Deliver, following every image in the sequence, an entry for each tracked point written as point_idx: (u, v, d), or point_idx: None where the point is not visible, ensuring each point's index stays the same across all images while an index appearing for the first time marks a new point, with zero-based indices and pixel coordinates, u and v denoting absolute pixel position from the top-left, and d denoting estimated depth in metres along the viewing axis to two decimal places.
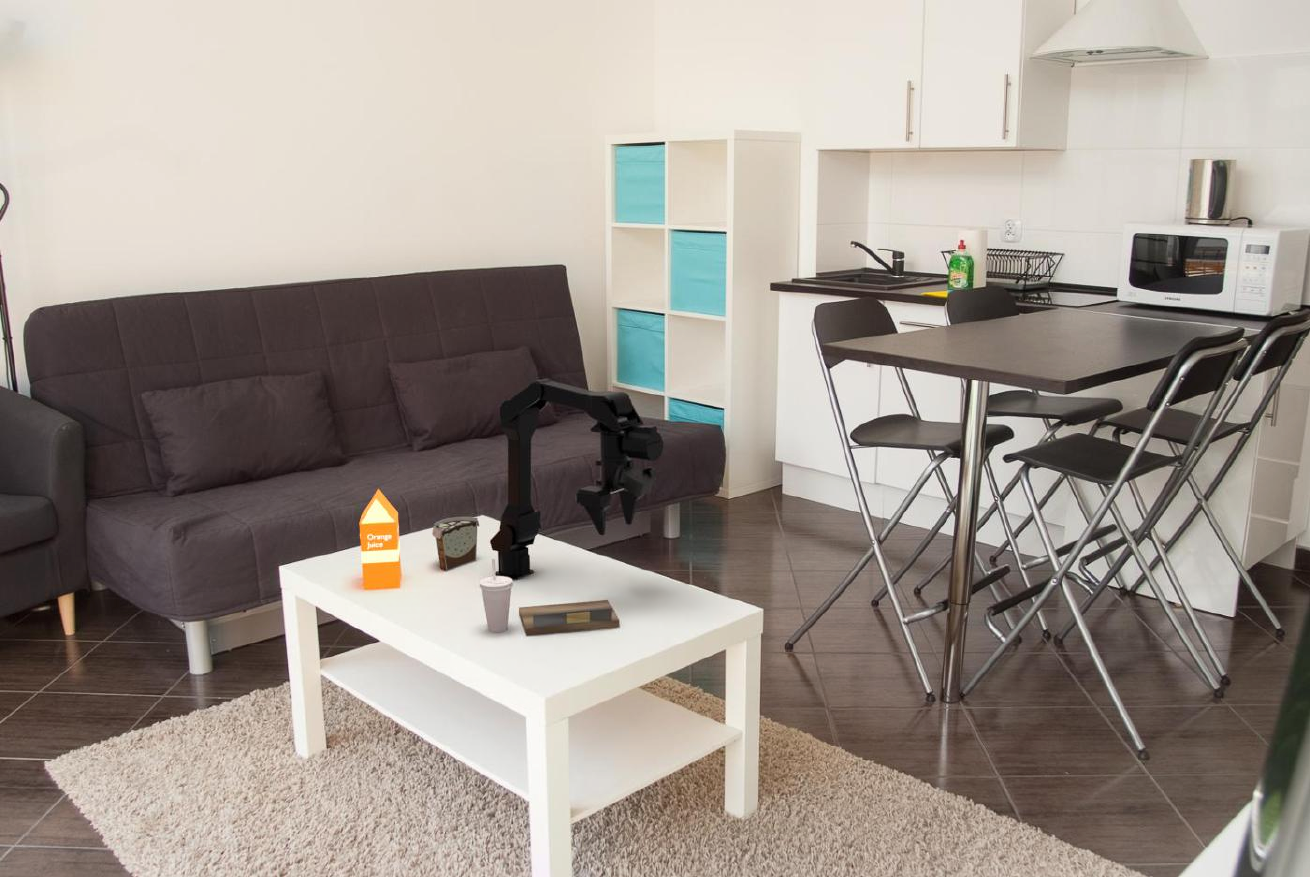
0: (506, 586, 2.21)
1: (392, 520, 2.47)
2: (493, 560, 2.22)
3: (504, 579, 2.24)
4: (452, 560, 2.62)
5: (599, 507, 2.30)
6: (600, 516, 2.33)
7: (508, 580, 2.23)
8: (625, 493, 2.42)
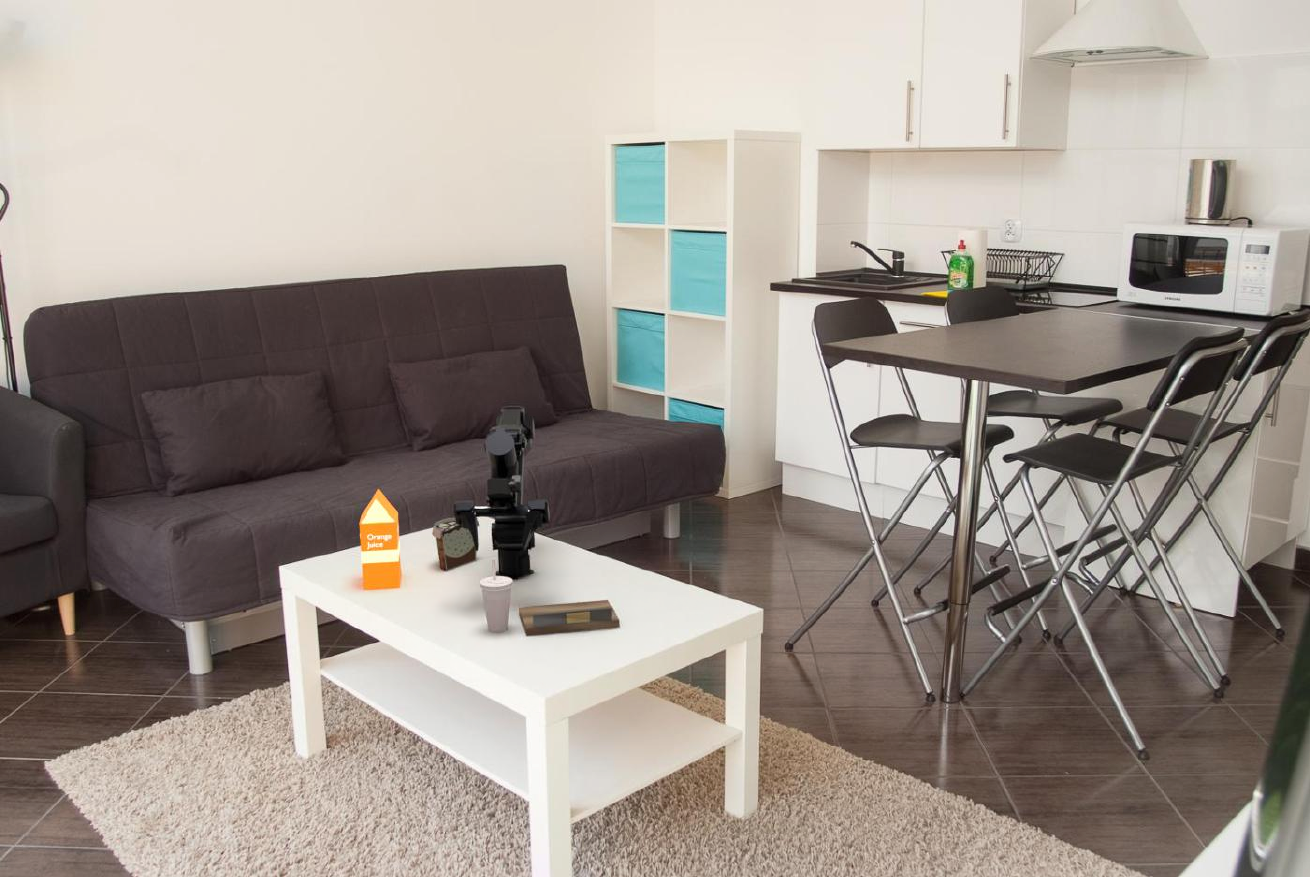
0: (506, 586, 2.21)
1: (392, 520, 2.47)
2: (493, 560, 2.22)
3: (504, 579, 2.24)
4: (452, 560, 2.62)
5: (460, 515, 2.32)
6: None
7: (508, 580, 2.23)
8: None
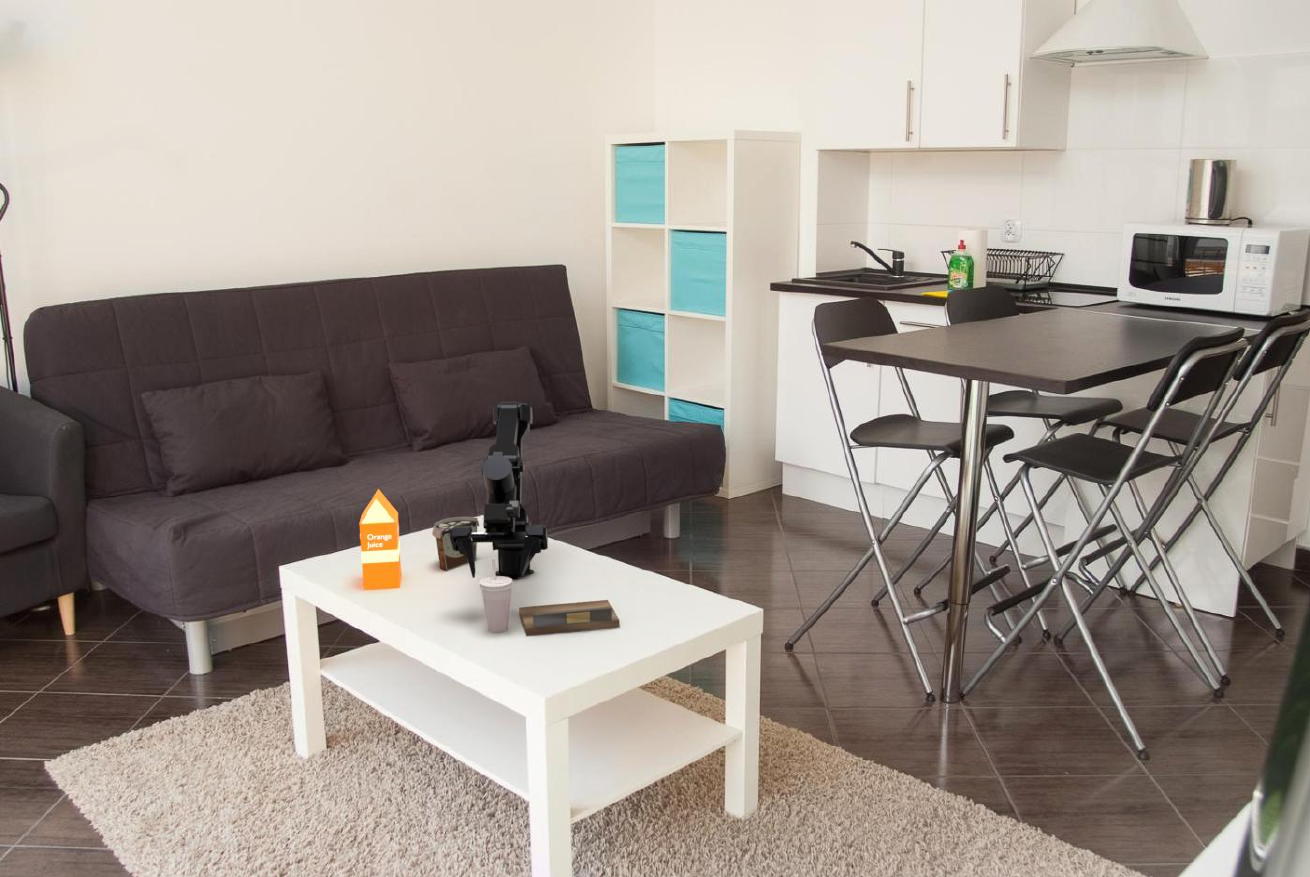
0: (506, 586, 2.21)
1: (392, 520, 2.47)
2: (493, 560, 2.22)
3: (504, 579, 2.24)
4: (452, 560, 2.62)
5: (456, 540, 2.27)
6: None
7: (508, 580, 2.23)
8: None
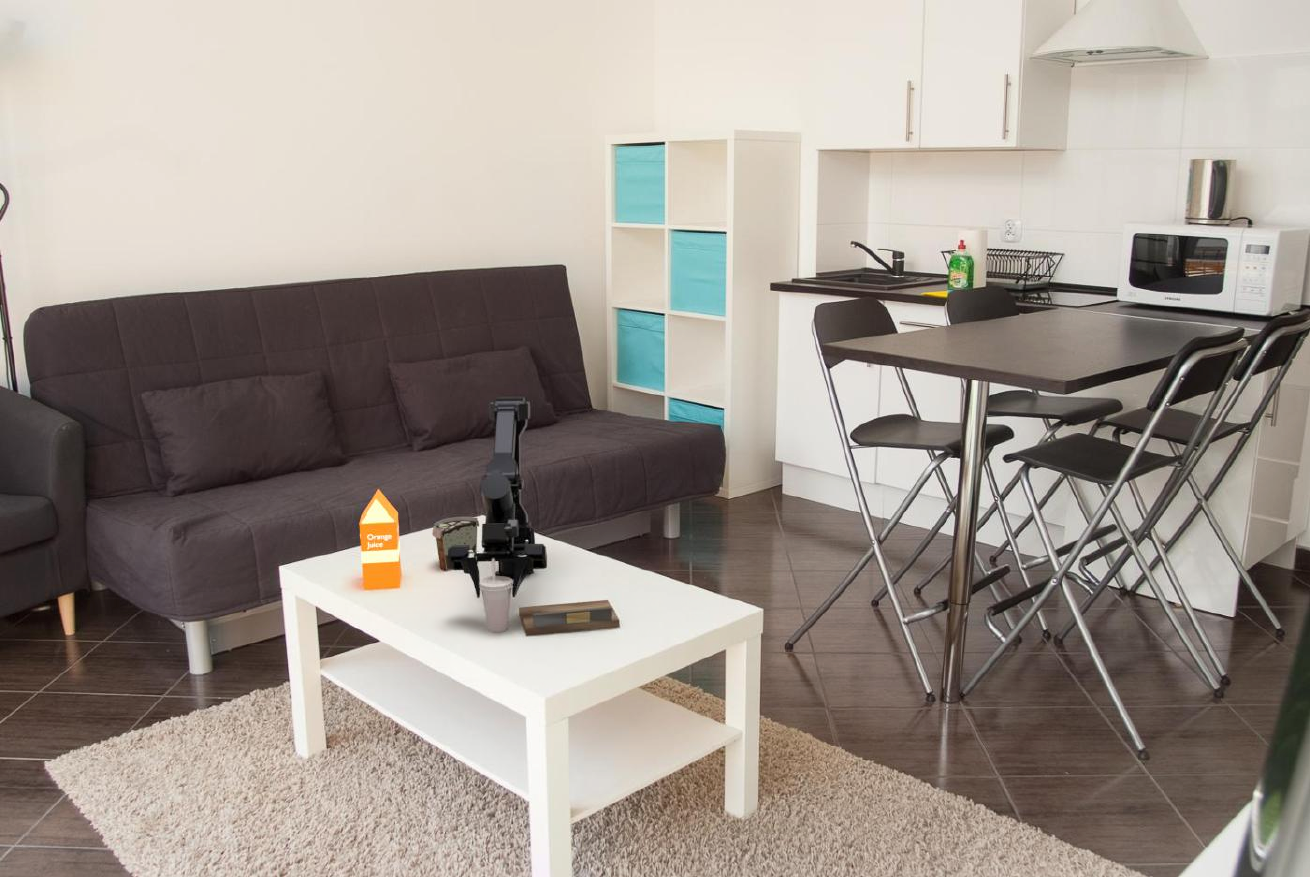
0: (506, 586, 2.21)
1: (392, 520, 2.47)
2: (493, 560, 2.22)
3: (504, 579, 2.24)
4: None
5: (461, 560, 2.24)
6: None
7: (508, 580, 2.23)
8: None
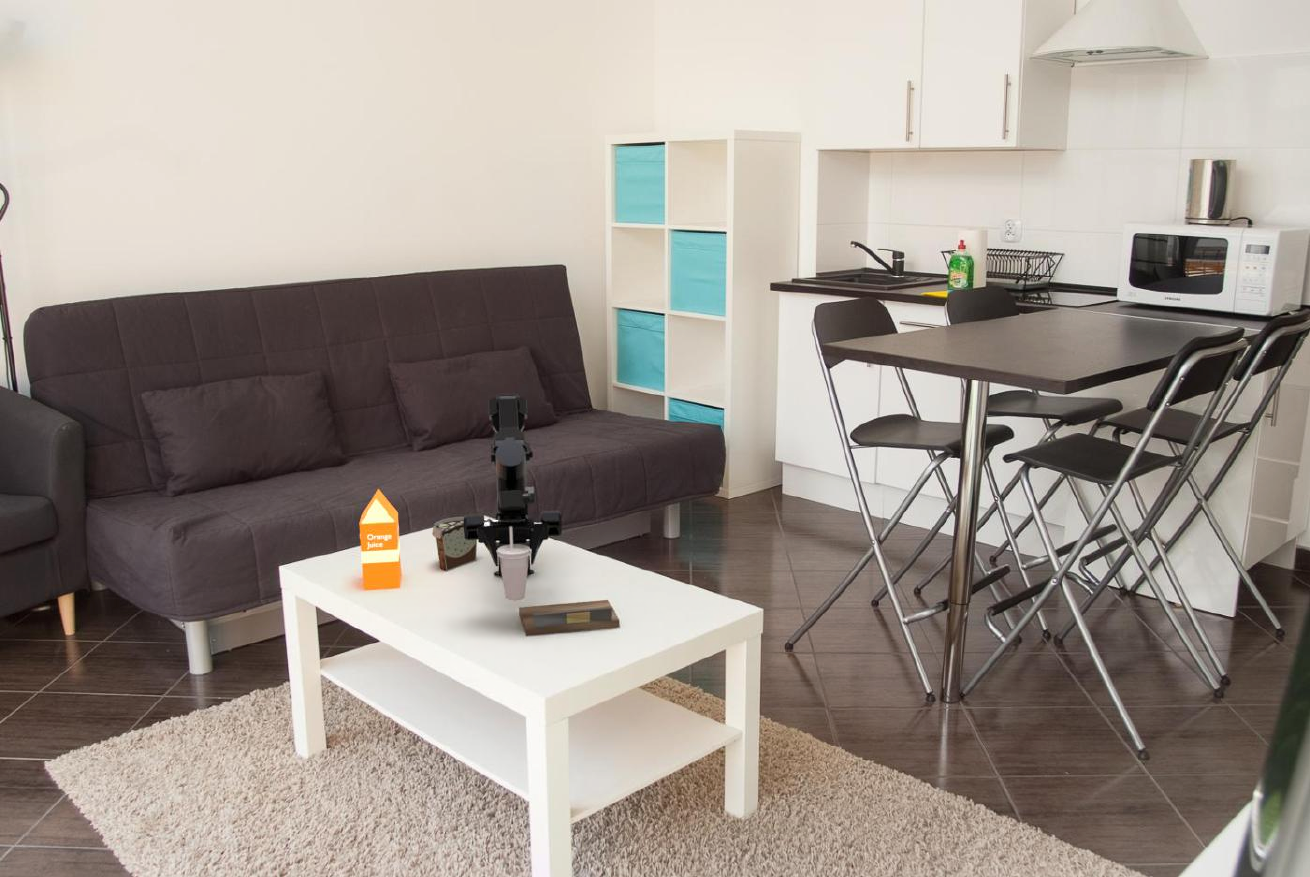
0: (525, 553, 2.20)
1: (392, 520, 2.47)
2: (511, 528, 2.21)
3: (521, 547, 2.23)
4: (452, 560, 2.62)
5: (477, 529, 2.22)
6: None
7: (525, 548, 2.23)
8: None
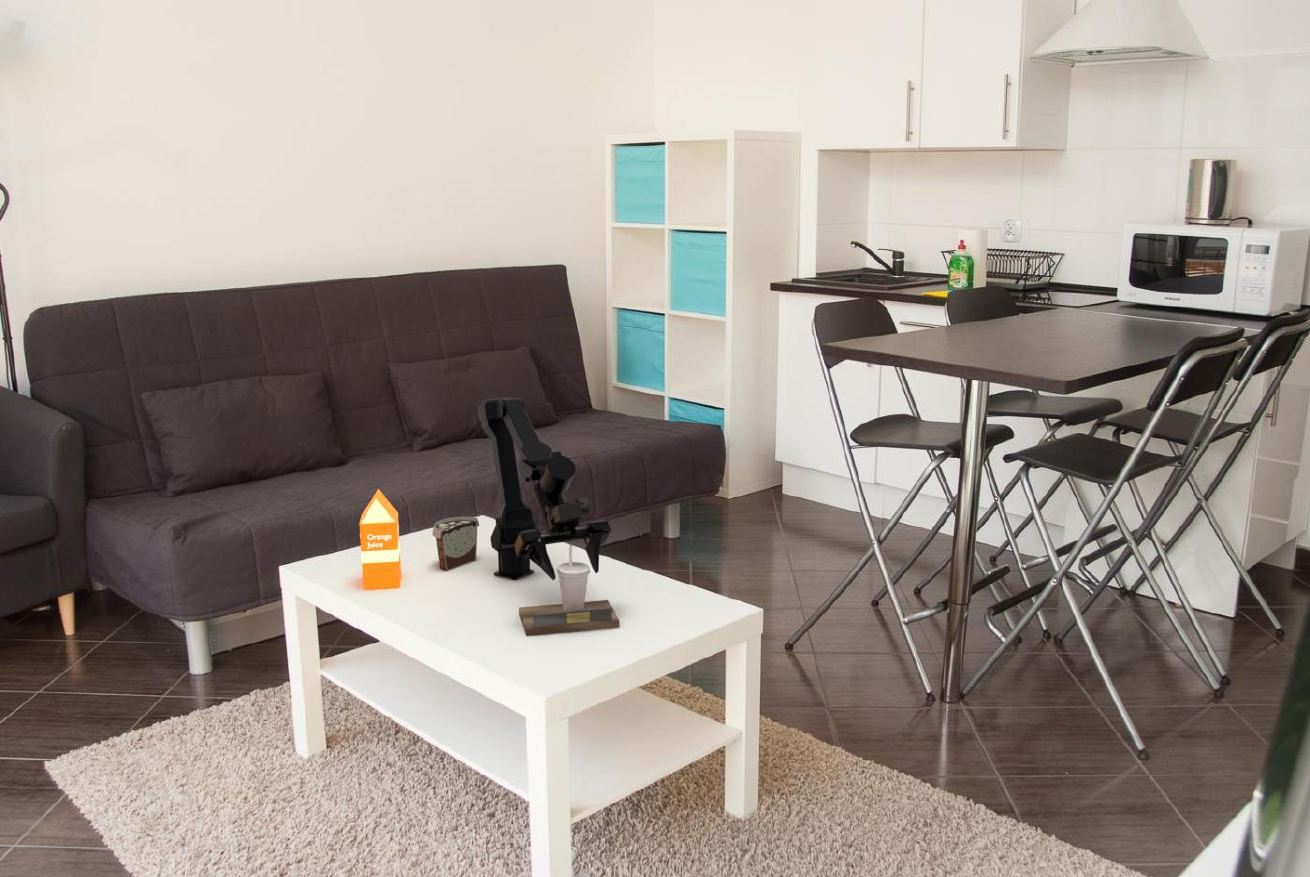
0: (588, 571, 2.25)
1: (392, 520, 2.47)
2: (571, 547, 2.25)
3: (578, 564, 2.27)
4: (452, 560, 2.62)
5: (530, 545, 2.23)
6: (542, 558, 2.24)
7: (583, 565, 2.27)
8: (588, 546, 2.31)
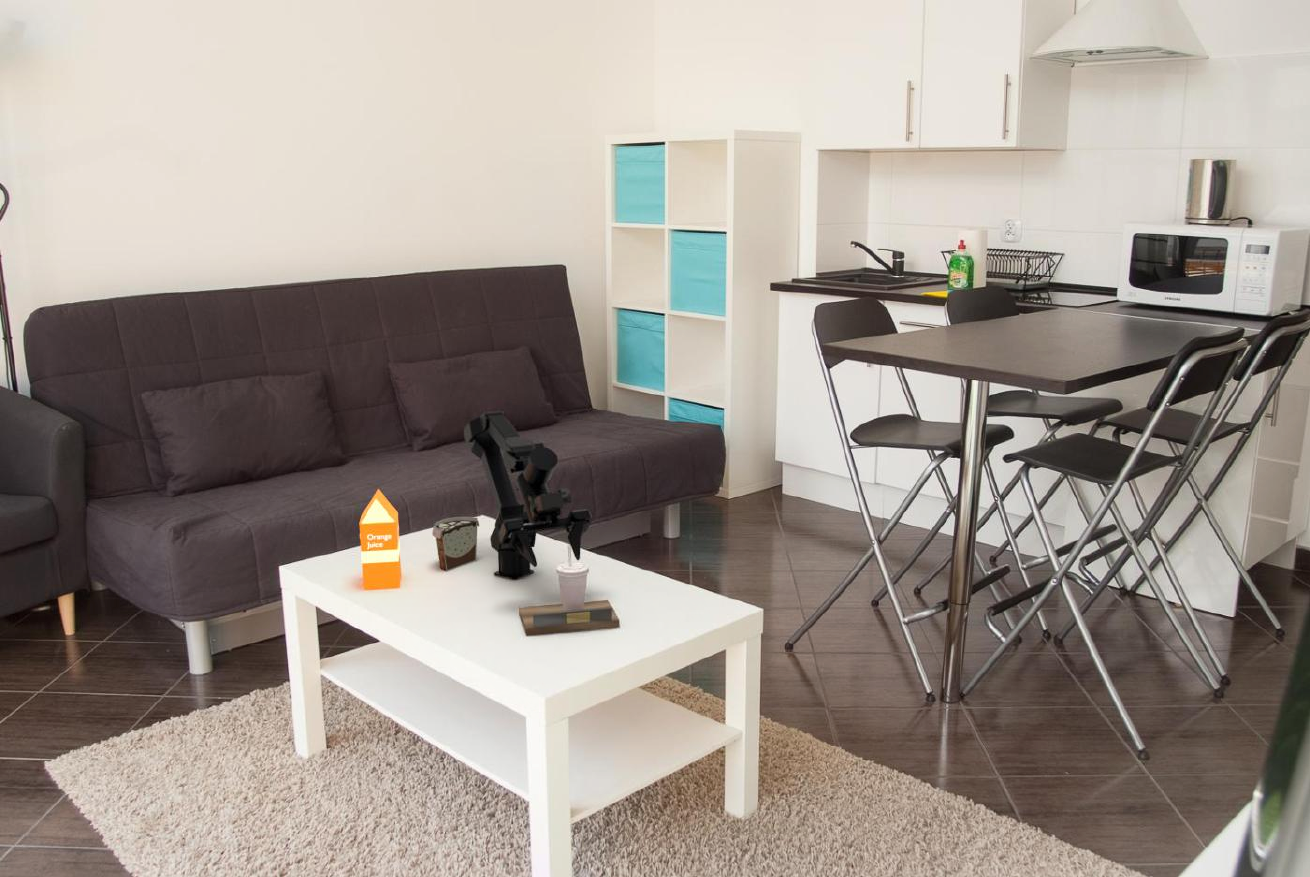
0: (587, 570, 2.25)
1: (392, 520, 2.47)
2: (569, 547, 2.25)
3: (577, 564, 2.28)
4: (452, 560, 2.62)
5: (513, 533, 2.31)
6: (524, 546, 2.32)
7: (582, 565, 2.27)
8: (570, 534, 2.39)
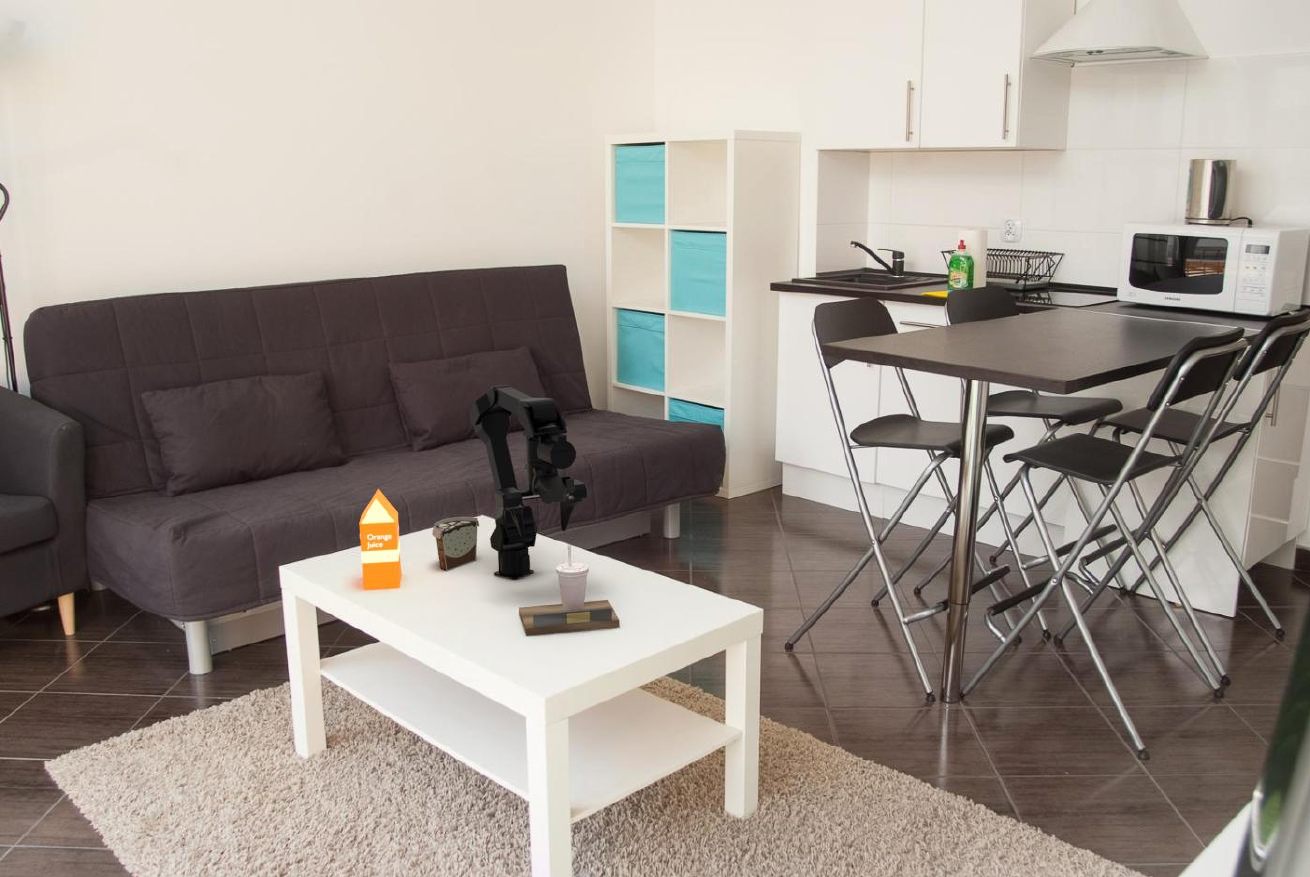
0: (587, 570, 2.25)
1: (392, 520, 2.47)
2: (569, 547, 2.25)
3: (577, 564, 2.28)
4: (452, 560, 2.62)
5: (509, 509, 2.36)
6: (516, 518, 2.38)
7: (582, 565, 2.27)
8: None
